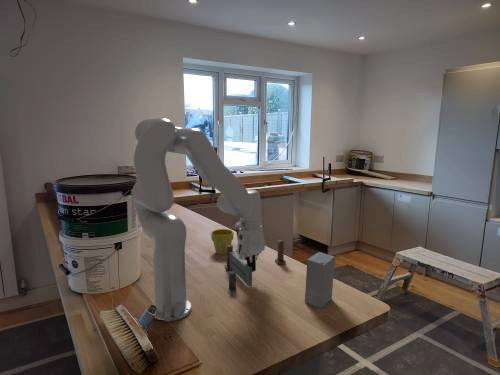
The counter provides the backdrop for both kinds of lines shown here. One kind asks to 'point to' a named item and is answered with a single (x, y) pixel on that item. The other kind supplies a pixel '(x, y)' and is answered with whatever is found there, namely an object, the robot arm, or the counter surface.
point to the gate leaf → (241, 268)
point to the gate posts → (232, 275)
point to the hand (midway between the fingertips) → (251, 270)
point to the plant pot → (221, 240)
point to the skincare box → (319, 279)
